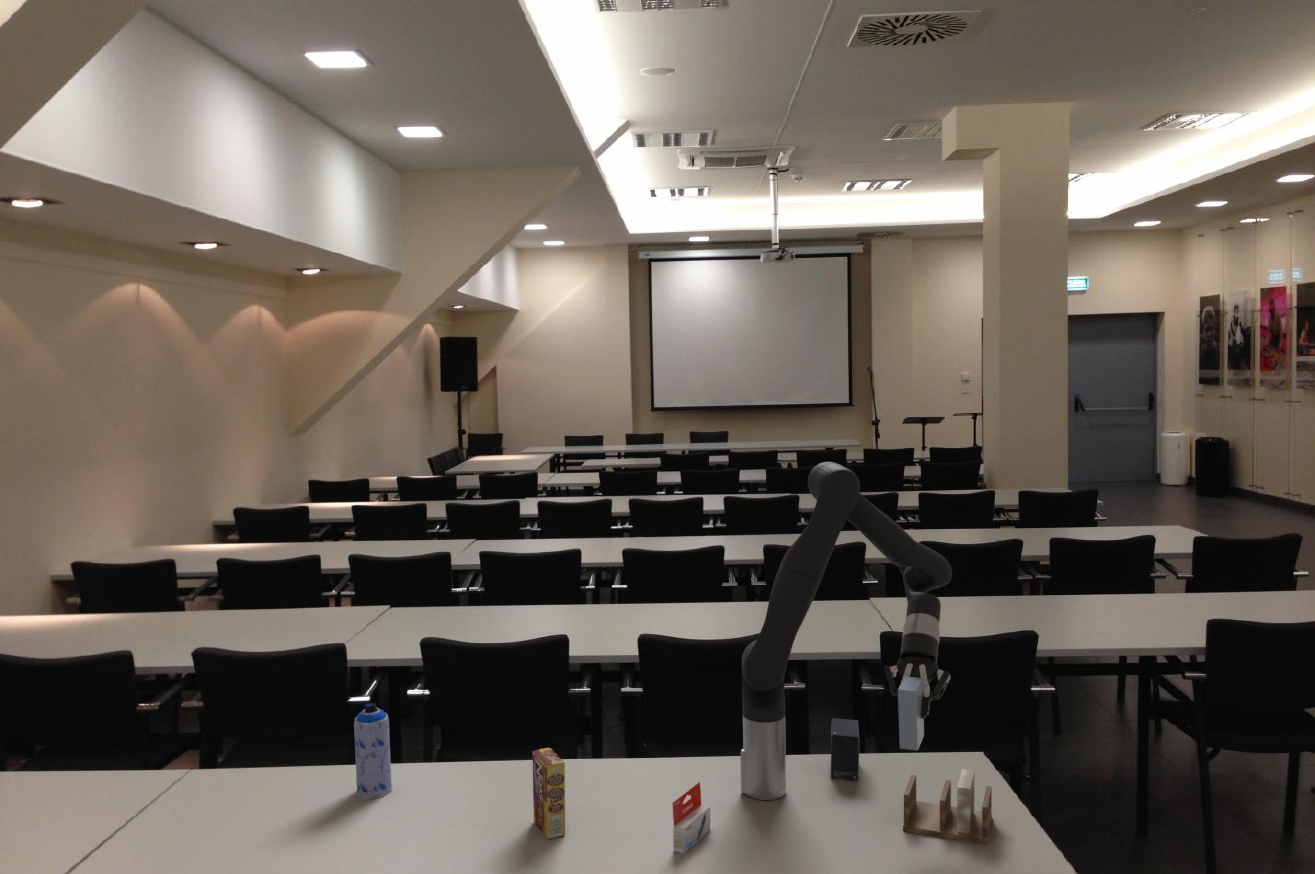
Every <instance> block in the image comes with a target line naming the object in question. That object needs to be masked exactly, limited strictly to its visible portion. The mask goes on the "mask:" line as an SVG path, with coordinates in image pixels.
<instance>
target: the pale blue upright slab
mask: <svg viewBox="0 0 1315 874" xmlns="http://www.w3.org/2000/svg"><path fill="white" fill-rule="evenodd" d="M901 681H902V680H901ZM922 698H923V678H916V677H905V678H904V679H903V681H902V683H901V682H900V685H899V687H898V697H897V703H898V706H899V712H898V731H899V732H898V734H899V735H898V736H899V740H898V741H899V749H901V750H902V749H903V750H911V751H919V749H920V746H921V743H922V742H923V739H924V736H925V721H924V720H925V719H922V718H921V704H922Z"/></svg>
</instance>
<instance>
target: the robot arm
mask: <svg viewBox="0 0 1315 874" xmlns="http://www.w3.org/2000/svg"><path fill="white" fill-rule="evenodd" d="M860 484H861V481H860V479H859V477H858V475H856V473H855V472H854V471H852V470H851V469H849V468H847V467H845V466H843V465H842V464H839V463H837V462H834V461H833V462H832V461H825V462H824V461H823V462H820V463H817V465H815V466H813V468H811V470H810V472H809V474H808V478H807V487H808V490H809V492H810V494H811V496H812V497H813V498H814V499H815V500H816V502H815V505H814V509H813V512H812V515H811V516H810V519H809V521H808V524H807V526H806V527H805V529H804V530H803V531H802V533H801V534H800V535H799V536H798V537H797V539H796V540H795V541H794V542H793V543H792V544H791V546H790V547H788V549H787V551H786V552H785V554H784V556H783V557H782V560H781V562H780V565H779V568H778V570H777V572H776V575H775V578H774V581H773V584H772V588H771V591H770V596H769V599H768V604H767V609H766V613H765V619H764V621H763V623H762V628H761V630H760V631H759V634H758V635H757V637H756V640H753V641H752V642H751V643H748V645H747V646H746V647H745V649H743V650H744V651H743V653H742V656H741V683H742V686H741V687H742V688H741V690H742V694H741V696H742V734H743V736H742V740H743V741H742V744H743V746H742V749H741V750H740V753H739V754H740V793H741V794H743V793H745V794H744V795H746V794H747V795H746V796H748V797H750V798H752V799H755V800H762V801H763V800H764V801H770V800H771V801H773V800H776V799H777V800H778V799H779V798H782V797H784V796H785V795H786V793H787V769H786V768H787V764H786V763H787V761H786V757H787V756H786V752H787V751H786V750H787V749H786V701H785V700H786V698H785V674H786V670H787V667H788V663H789V659H790V656H791V655H790V654H791V653H792V649H793V646H794V642H795V640H796V637H797V634H798V632H799V630H800V628H801V626H802V624H803V622H804V620H805V618H806V616H807V613H808V612H809V609H810V607H811V605H812V603H813V601H814V598H815V596H816V594H817V591H818V589H819V588H820V587H819V586H820V584H821V582H822V579H823V577H824V573H825V571H826V568H827V566H828V564H829V560H830V559H831V556H832V554H833V551H834V548H835V546H836V543H837V541H838V538H839V536H840V534H841V531H842V529H843V528H844V526H845V525H846V522H847V521H848V522H849V523H850V524H852V525H853V526H854V527H855V528H856V529H857V530H858V531H859V532H860V533H861V534H862V535H863V536H864V537H865V538H866V539H867V540H868V541H869V542H870V543H871V544H872V545H873V547H875V549H877V550H878V551H879V552H880V553H881V554H883V556H884V557H886V559H887V560H889V561H890V563H892V564H893V565H895V566H896V567H899V568H905V569H904V571H903V575H902V580H903V585H904V590H905V596H906V602H907V606H906V613H905V614H906V615H905V620H904V621H905V622H904V625H903V629H902V637H901V644H900V645H901V648H900V653H899V659H898V661H897V663H896V665H893V666H890V665H884V666H883V670H884V673H885V677H886V679H887V682H888V687H889V689H890V693H891V696H894V697H897V698H898V689H899V687H896V683H895V680H894V678H895V677H897V672H898V673H899V675H900V676H901V678H902V679H901V681H900V684H901V683H902V681H903V679H904V678H905V677H916V678H923V698H922V704H921V718H922V719H924V720H926V717H928V716H929V715H930V708H931V706H930V705H931V702H932V701H940V699H941V698H942V696H943V695H944V693H945V691H946V689H947V687H948V685H949V683H950V682H951V675H950V672H949V670H942V669H939V666H938V656H939V646H940V645H939V644H940V641H941V639H940V620H941V610H942V608H941V601H940V598H939V597H937V595H936V594H933V593H930V592H928V591H933V590H936V589H938V588H939V589H940V588H941V587H945V586H946V585H948V584H950V582H951V581H952V578H953V577H952V576H953V570H952V567H951V564H950V562H949V561H948V560H947V559H946V558H945V557H944V556H943V555H941V554H940V553H939V552H937V551H935V550H934V549H932V548H930V547H928V546H927V545H925V544H922V543H920V542H918V541H917V540H915V539H914V538H913V537H912V536H911V535H910V534H909V533H908V532H907V531H906V530H905V529H904V528H902V527H901V526H900V525H899V524H898V523H897V522H896V521H894V520H893V519H892V518H891V517H889V516H888V515H887V514H886V513H884V512H883V511H881V509H879V508H878V507H876V506H875V504H873V503H872V502H871V501H869V500H868V499H867V498H866V497H865V496H864V495H863V494H862V493H861V485H860ZM935 677H937V679H938V681H937V683H936V685H935V686H934V689H933V691H931V689H930V682H932V680H934V679H935ZM896 710H897V712H898V713H899V706H898V702H897V704H896Z"/></svg>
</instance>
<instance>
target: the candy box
mask: <svg viewBox="0 0 1315 874" xmlns="http://www.w3.org/2000/svg"><path fill="white" fill-rule="evenodd" d="M565 767H566V765H565V761H564V760H563V759H562V758H561V757H560V756H559V755H558V754H557V753H556V752H555V751H554V750H553V749H552V748H551V747H545V748H540V749H535V750H533V751H532V797H533V799H532V801H533V802H532V803H533V805H532V806H533V807H532V808H533V823H534V824H535V826H537V828H538V829H539V831H540V832H541V833H542V835H544V837H545V838H546V840H550V839H555V838H556V839H557V838H560V837H562V836H563V837H564V836H566V790H565V789H566V785H565V784H566V778H565V777H566V773H565V772H566V768H565Z"/></svg>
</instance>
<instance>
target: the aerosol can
mask: <svg viewBox="0 0 1315 874" xmlns="http://www.w3.org/2000/svg"><path fill="white" fill-rule="evenodd" d="M353 728H354V729H353V732H354V751H355V752H354V753H355V755H354V756H355V774H356V776H355V777H356V792H355V793H356V794H355V795H356V796H357V797H359V798H360V799H365V800H371V799H377V798H383V797H385V796H387V795H389V794H390V793H391V792H392V791H393V785H392V765H391V763H392V762H391V761H392V760H391V746H390V744H391V743H390V740H391V739H390V738H391V737H390V721H389V715H388V713H386V712H385V711H384V710H383V709H380V708H378V707H377V703H375V702H368V703H366V704H365V709H363V710H362V711H360V712H359V713H358V714H357V716H356V717H355V718H354V722H353Z"/></svg>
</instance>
